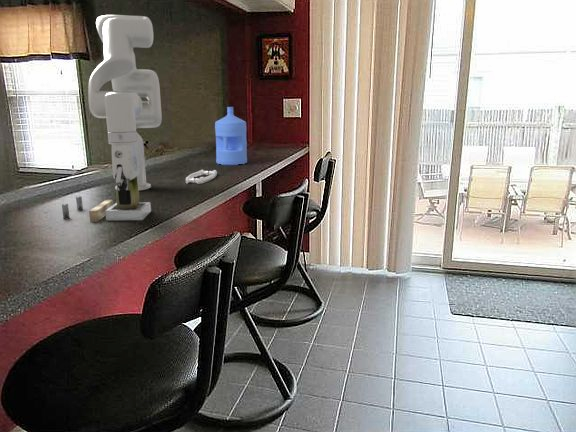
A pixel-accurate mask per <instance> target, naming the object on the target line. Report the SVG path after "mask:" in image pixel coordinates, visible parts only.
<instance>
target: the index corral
mask: <svg viewBox="0 0 576 432" xmlns="http://www.w3.org/2000/svg"><path fill="white" fill-rule="evenodd" d="M151 205H152V204H151V202H150V201H148V202H145V201H144V202H140V201H139V204H138V208H137V209H135V210H120V209H119V208H118V206H117V202H115V203H113V205H112V206H111V207H110V208H108V209H107V210H105V215H106V216H105V221H107V222H108V221H144V219H145V218H146V217H147V216H148V215H150V213H151V212H152V207H151Z"/></svg>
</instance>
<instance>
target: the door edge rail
mask: <svg viewBox="0 0 576 432" xmlns="http://www.w3.org/2000/svg"><path fill="white" fill-rule="evenodd" d="M112 205H114V200H113V199H105V200H104V201H102V202H101V203H99V204H97V205H96V206H95V207H93V208H91V209H90V210H89V211H88V214H89V216H88V217H89V222H93V223H95V222H99V221H101V220H102V219H103V218H104V217H106V215H105V210H107V209H108V208H110V207H111V206H112Z"/></svg>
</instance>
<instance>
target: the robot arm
mask: <svg viewBox="0 0 576 432" xmlns="http://www.w3.org/2000/svg"><path fill="white" fill-rule="evenodd" d="M95 25H96V30H97V33H98V36H99V38H100V40H101V43H103V46H102V47H103V61H102V62H100V63H99V64H98V65H97V66H96V68H95V69H94V70H93V71H92V73H91V75H90V77H89V80H88V85H87V86H88V87H87V89H88V90H87V92H88V94H87V95H88V108H89V111H90V113H91V115H92V116H94V117H95V118H96V119H97V118H98V119H106V129H107V139H108V140H107V141H108V145H111V167H112V175H113V176H112V177H113V179H114V180H115V183H116V185H115V187H114V188H115V190H116V191H117V186H118V195H119V204H120V205H130V204H131V193H130V190H129V180H132V179H134V178H136V177H137V182H138V189H139V192H140V191H146V190H149V189H151V188H152V184H151V183H148V182H147V177H146V176H147V174H146V162H145V161H146V160H145V158H146V157H145V147H144V140H143V137H142V136H141V135H140V134H139V133H138V131H137V129H152V128H153V129H155V128H158V127H160V125H162V117H163V116H162V105H161V104H162V103H161V102H162V101H161V100H162V99H161V88H160V87H161V86H160V81H159V76H158V74H157V72H156V71H155V70H152V69H143V68H139V69H138V68H137V66H136V65H137V64H136V63H137V62H136V55H135V54H136V53H135V52H134V48H140V49H141V48H142V49H143V48H145V49H147V48H148V49H149V48H151V47H152V45H153V43H154V26H153V23H152V20H151V19H150V18H149V17H148V16H143V15H124V14H105V15H100V16H98V17H97V18H96V21H95ZM110 81H111V86H112V87H111V88H112V90H100V89H101V88H102V87H103V86H104V84H106V83H108V82H110ZM142 98H145V99H147V100H142ZM122 178H126V179H122ZM124 182H126V185H125V183H124ZM132 183H133V181H132Z"/></svg>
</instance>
